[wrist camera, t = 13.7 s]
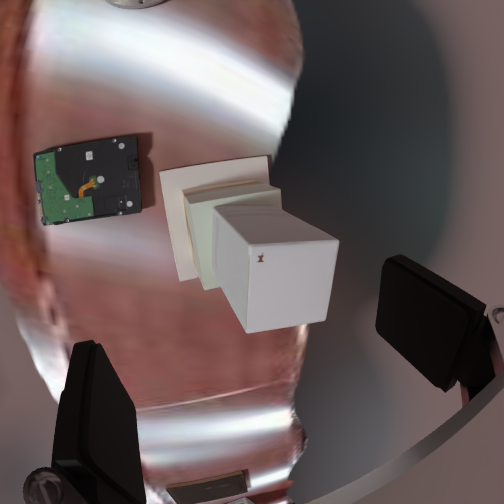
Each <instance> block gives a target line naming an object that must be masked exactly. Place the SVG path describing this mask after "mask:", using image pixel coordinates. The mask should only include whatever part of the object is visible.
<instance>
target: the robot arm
mask: <svg viewBox="0 0 504 504" xmlns="http://www.w3.org/2000/svg"><path fill="white" fill-rule="evenodd" d="M106 1H107V2H108V3H110V4H111V5H113V6H116V7H119V8H125V9H139V8H146V7H150V6H153V5H156V4H158V3H161V2H163V1H164V0H106ZM140 3H143V4H140ZM485 308H486V304H484V303H482V302H481V301H480V300H478V299H476V298H475V297H473V296H472V295H470V294H468V293H467V292H465V291H464V290H462V289H460V288H459V287H457V286H455V285H454V284H452V283H450V282H449V281H447V280H445V279H444V278H442V277H440V276H439V275H437V274H435V273H434V272H432V271H430V270H428V269H426V268H425V267H423V266H421V265H420V264H418V263H416V262H414V261H413V260H411V259H409V258H407V257H406V256H404V255H401V254H398V255H395V256H393V257H390V258H387V259H386V260H385V262H384V265H383V266H382V273H381V283H380V293H379V302H378V309H377V317H376V324H375V327H376V331H377V332H378V334H379V335H380V336H381V337H382V338H384V339H385V340H386V341H387V342H388V343H389V344H390V345H391V346H392V347H393V348H394V349H395V350H397V351H398V352H399V353H400V354H401V355H402V356H403V357H404V358H405V359H406V360H408V361H409V362H410V363H411V364H412V365H413V366H414V367H415V368H416V369H417V370H418V371H419V372H420V373H422V374H423V376H425V377H426V378H427V379H428V380H429V381H430V382H431V383H432V384H433V385H434V386H435V387H438V388H441V389H442V390H443V391H444V392H445V393H446V392H447V391H448V390H449V389H451V388H452V387H453V386H455V384H456V382H457V380H458V381H459V382H460V388H461V396H462V405H463V408H462V409H461V410H460V411H458V412H457V413H456V414H455V415H453V416H452V417H451V418H450V419H449V420H447V421H446V422H445V423H443V424H442V425H441V426H440V427H438V428H437V429H436V430H435V431H433V432H432V433H431V434H429V435H428V436H426V437H425V438H424V439H422V440H421V441H419V442H418V443H417V444H415V445H414V446H412V447H411V448H409V449H408V450H406V451H405V452H403V453H402V454H400V455H399V456H397V457H396V458H394V459H393V460H391V461H389V462H387V463H386V464H384V465H382V466H381V467H379V468H377V469H376V470H374V471H372V472H370V473H369V474H367V475H365V476H363V477H361V478H359V479H358V480H356V481H354V482H352V483H350V484H348V485H346V486H344V487H342V488H340V489H338V490H336V491H334V492H331V493H329V494H327V495H325V496H323V497H320V498H318V499H316V500H313V501H311V502H309V503H306V504H504V305H495V306H492V307H491V308H490V309H489V310H488V314H487V317H486V316H484V315H483V314H484V311H485ZM23 498H24V501H25V503H26V504H146V494H145V488H144V481H143V475H142V467H141V459H140V451H139V441H138V431H137V419H136V410H135V406H134V403H133V401H132V400H131V398H130V396H129V395H128V393H127V391H126V390H125V388H124V386H123V384H122V383H121V381H120V379H119V377H118V375H117V374H116V372H115V370H114V368H113V366H112V364H111V362H110V361H109V359H108V357H107V355H106V353H105V351H104V349H103V347H102V345H101V344H100V343H98V344H96V343H95V342H94V341H93V340H88V341H83V342H78V343H75V344H74V346H73V351H72V355H71V359H70V363H69V368H68V373H67V378H66V383H65V388H64V390H63V391H62V393H61V396H60V401H59V407H58V413H57V420H56V427H55V435H54V443H53V453H52V463H51V467H41V468H38V469H36V470H34V471H32V472H31V473H30V474H29V475H28V476H27V478H26V480H25V482H24V484H23Z"/></svg>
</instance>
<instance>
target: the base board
mask: <svg viewBox="0 0 504 504" xmlns="http://www.w3.org/2000/svg"><path fill="white" fill-rule="evenodd" d="M159 172H160V178H161V185H162V191H163V197H164V203H165V209H166V215H167V221H168V226H169V231H170V237H171V242H172V247H173V252H174V257H175V262H176V267H177V271H178V276H179V281H183V280H188V279H193V278H197V277H199V275H198V272H197V270H196V267H195V264H194V262H193V259H192V253H191V248H190V242H189V236H188V230H187V224H186V218H185V212H184V206H183V199H182V192H181V190H186V189H192V188H198V187H204V186H210V185H216V184H222V183H228V182H235V181H242V180H249V179H254V180H256V181H259V182H262V183H265V184H267V185H269V173H268V162H267V156H258V157H250V158H241V159H234V160H226V161H219V162H212V163H205V164H199V165H193V166H187V167H181V168H175V169H170V170H164V171H159Z"/></svg>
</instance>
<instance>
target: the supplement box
mask: <svg viewBox="0 0 504 504" xmlns="http://www.w3.org/2000/svg"><path fill="white" fill-rule="evenodd" d="M338 247H339V240H337V239H335V238H334V237H332V236H330V235H329V234H327V233H325V232H323V231H321V230H319V229H318V228H316V227H314V226H312V225H310V224H308V223H306V222H304V221H302V220H300V219H298V218H297V217H295V216H293V215H291V214H289V213H287V212H285V211H283V210H282V209H280V208H278V207H276V206H225V207H213V216H212V271H213V273H214V275H215V277H216V279H217V281H218V282H219V284H220V286H221V288H222V290H223V292H224V294H225V295H226V297H227V299H228V301H229V303H230V305H231V307H232V308H233V310H234V312H235V314H236V315H237V317H238V319H239V321H240V323H241V324H242V326H243V328H244V330H245V332H246V333H253V332H260V331H266V330H272V329H279V328H285V327H291V326H297V325H302V324H308V323H314V322H319V321H324V320H325V319H326V315H327V310H328V304H329V298H330V293H331V287H332V281H333V275H334V269H335V264H336V259H337V253H338Z"/></svg>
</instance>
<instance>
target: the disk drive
mask: <svg viewBox="0 0 504 504" xmlns="http://www.w3.org/2000/svg"><path fill="white" fill-rule="evenodd" d="M33 161H34V173H35V181H36V182H35V186H36V192H38V194H37V196H38V201H39V203H38V204H39V209H40V216H41V217H42V219H41V222H42V223H43V225H44V226H46V225H53V224H54V225H59V224H63V223H69V222H76V221H83V220H89V219H96V218H104V217H111V216H118V215H129V214H134V213H141V211H142V204H141V192H140V179H139V163H138V145H137V137H136V136H131V137H119V138H115V139H106V140H100V141H94V142H87V143H81V144H76V145H70V146H65V147H59V148H53V149H49V150H45V151H41V152H37V153H34V154H33Z"/></svg>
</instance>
